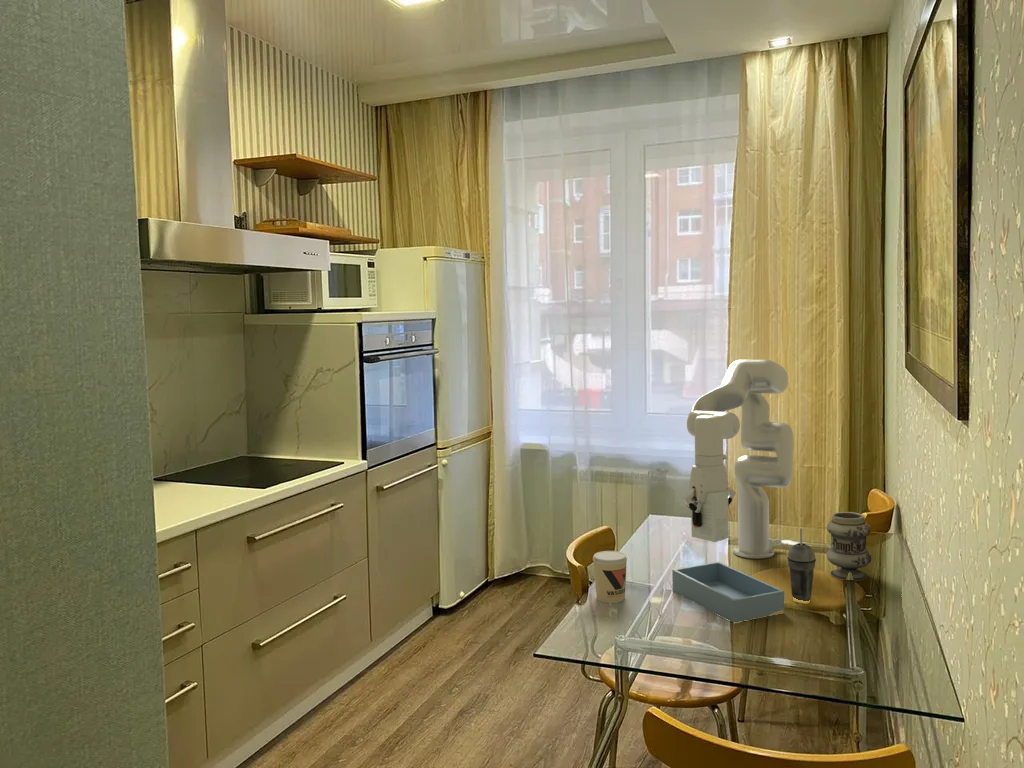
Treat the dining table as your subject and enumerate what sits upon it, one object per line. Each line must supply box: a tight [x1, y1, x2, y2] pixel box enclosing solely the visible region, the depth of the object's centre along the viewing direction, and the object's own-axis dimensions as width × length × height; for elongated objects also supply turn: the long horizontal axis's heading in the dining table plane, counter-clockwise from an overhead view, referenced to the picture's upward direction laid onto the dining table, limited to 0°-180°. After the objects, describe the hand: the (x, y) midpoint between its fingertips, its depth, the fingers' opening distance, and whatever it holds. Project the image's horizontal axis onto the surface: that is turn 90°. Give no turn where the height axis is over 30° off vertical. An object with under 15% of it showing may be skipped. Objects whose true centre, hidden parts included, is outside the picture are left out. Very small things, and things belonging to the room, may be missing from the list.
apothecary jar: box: [826, 511, 872, 582], centre depth 235 cm, size 12×12×18 cm
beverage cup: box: [786, 528, 817, 601], centre depth 216 cm, size 7×7×20 cm
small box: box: [690, 491, 730, 543], centre depth 223 cm, size 8×6×13 cm
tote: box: [671, 561, 785, 622], centre depth 218 cm, size 16×28×6 cm, turn 22°
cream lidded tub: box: [592, 550, 628, 604], centre depth 223 cm, size 9×9×12 cm
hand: (709, 523), depth 223 cm, fingers closed on small box, 7 cm apart
